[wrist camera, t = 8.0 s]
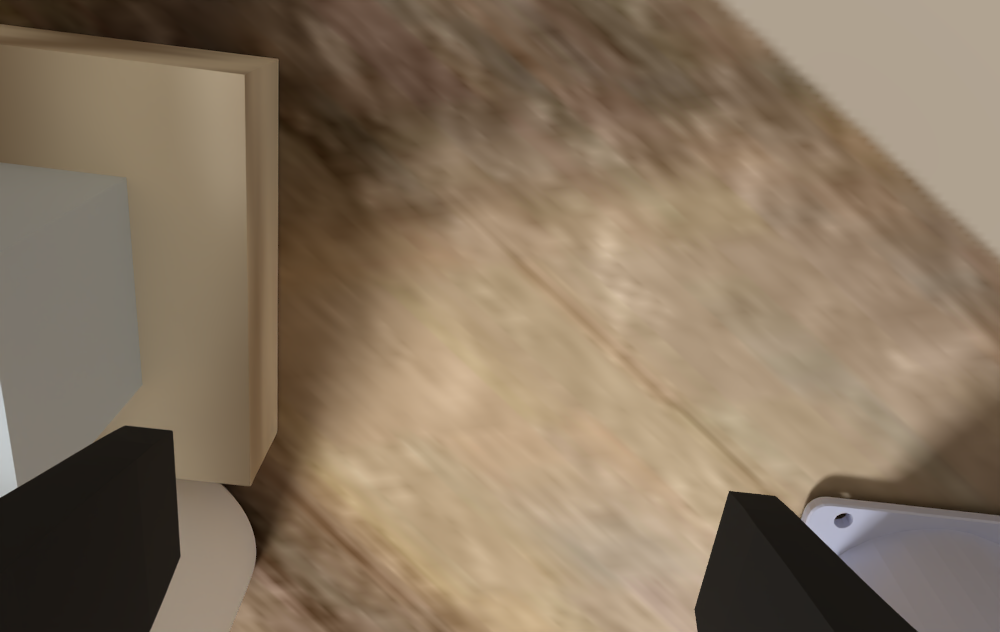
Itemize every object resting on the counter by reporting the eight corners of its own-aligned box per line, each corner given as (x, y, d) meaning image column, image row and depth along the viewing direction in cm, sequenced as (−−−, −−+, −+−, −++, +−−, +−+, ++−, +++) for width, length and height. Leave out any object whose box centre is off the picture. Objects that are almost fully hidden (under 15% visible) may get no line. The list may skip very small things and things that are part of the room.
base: (278, 58, 18) (244, 74, 16) (277, 431, 22) (250, 486, 20) (-174, 2, 18) (-276, 10, 15) (-89, 391, 22) (-160, 442, 20)
